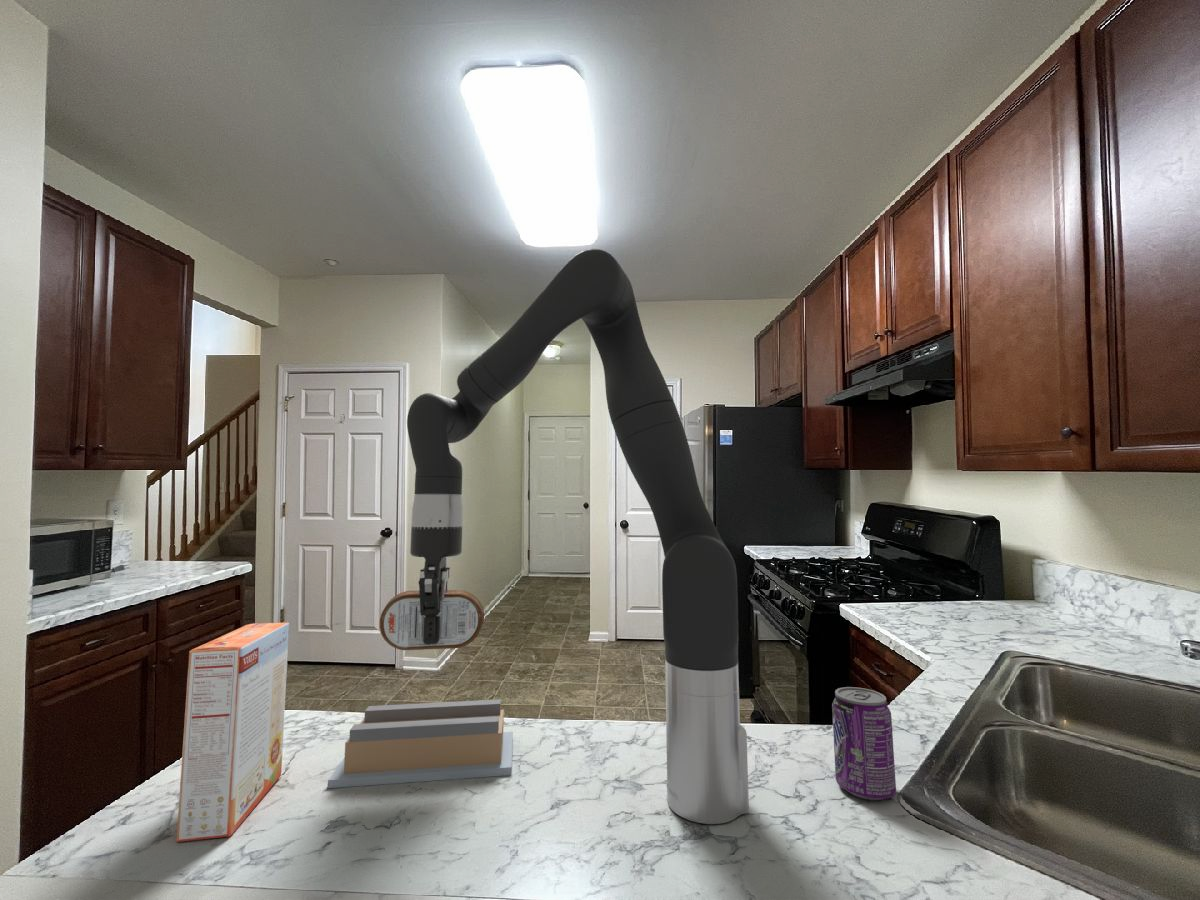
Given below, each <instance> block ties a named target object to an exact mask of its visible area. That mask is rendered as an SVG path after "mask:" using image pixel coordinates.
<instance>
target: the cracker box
mask: <svg viewBox="0 0 1200 900" xmlns="http://www.w3.org/2000/svg"><path fill="white" fill-rule="evenodd" d="M289 623H290V622H260V623H259V622H258V623H249V624H245V625H243V626H241V627H239V628H237V629H235V630H231V631H230V632H227V633H225V634H223V635H221V636H220V637H218V638H215V639H212V640H210V641H208V642H206V643H204V644H202V645H199V646H197V647H195V648H192V649H191V650H189V652H188V665H187V668H188V669H187V678H186V679H187V681H186V696H185V697H186V699H185V711H184V724H183V725H184V727H183V739H182V740H183V741H182V754H181V755H182V756H181V765H180V766H181V769H180V783H179V799H178V811H177V812H178V813H177V814H178V815H177V825H176V826H177V827H176V842H177V843H181V842H191V841H200V840H209V839H218V838H227V837H231V836H232V835H234V832H236V830H237V829H238V828H239V827H240V826H241V824H242V823H243V822H244V821H245V820H246V819H247V817H248V816H249V815H250V813H251V812H252V811H253V809H255V808H256V806H257V805H258V804H259V803H260V801H261V800H262V799H263V798H264V797H265V795H267V794H268V792H269V791H270V789H271V788H272V787H273V786H274V785H275V783H277V781H278V780H279V779H280V778H281V777H282V766H283V748H284V729H285V728H284V727H285V726H284V725H285V708H286V688H287V687H286V686H287V674H288V673H287V671H288V670H287V669H288V654H289V652H288V650H289V648H288V647H289V631H290V624H289Z"/></svg>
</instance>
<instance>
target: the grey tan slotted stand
mask: <svg viewBox="0 0 1200 900" xmlns="http://www.w3.org/2000/svg"><path fill="white" fill-rule="evenodd" d="M501 707H502V699H481V700H461V701H445V702H444V701H442V702H439V701H438V702H422V703H405V704H385V705H381V704H380V705H369V706H367V708H366V709H365V710H364V718H363V719H362V720H361V721H360V723H355V724H353V725H352V726H351V728H350V729H349V737H348V739H346V741H345V744H344V758H343V759H342V760H341V762H340V763H339V764H338V766H336V768H335V770H334V771H333V773H332V774H331V775H330V776H329V778H328V779H327V789H336V788H350V787H351V788H352V787H365V786H366V787H367V786H379V785H393V784H405V783H417V782H421V783H422V782H433V781H445V780H446V781H447V780H457V779H459V780H460V779H473V778H485V777H487V778H488V777H499V776H501V777H502V776H503V777H504V776H512V769H513V768H512V767H513V747H514V746H513V745H514V732H513V731H504V723H505V721H504V719H505V718H504V717H505V716H504V715H505V710H504V709H501Z"/></svg>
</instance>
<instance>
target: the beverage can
mask: <svg viewBox="0 0 1200 900" xmlns="http://www.w3.org/2000/svg"><path fill="white" fill-rule="evenodd" d="M834 695H835V697H834V699H833V701H832V703H831V709H832V710H831V712H832V728H833V729H832V730H833V751H834V753H833V754H834V769H835V770H834V773H835V775H834V776H835V781H836V783H837V785H838V786H839V787H840V788H842V789H843V790H845V791H847V792H848V793H849V794H851V795H853V796H855V797H857V798H859V799H863V800H868V801H881V800H885V799H889V798H892V797H894V796H895V795H896V793H897V784H896V783H897V781H896V768H895V767H896V766H895V752H894V751H895V750H894V738H893V736H894V734H893V721H892V720H893V719H892V712H891V710H890V708H889V706H888V704H887V697H886V696H885V695H884V694H883V693H880V692H878V691H876V690H872V689H868V688H864V687H863V688H862V687H854V686H853V687H852V686H845V687H838V688H837V689H835V691H834Z"/></svg>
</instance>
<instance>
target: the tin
mask: <svg viewBox="0 0 1200 900" xmlns="http://www.w3.org/2000/svg"><path fill="white" fill-rule="evenodd" d="M439 594H440V593H439ZM431 606H434V602H428V607H431ZM441 611H442V614H441V616H440V636H439V641H438V643H436V644H424V642H423V631H424V618H423V615H421V613H420V591H419V590H405V591H402V592H400V593H398V594H396V595H395V596H393V597H392V598H390V600H389V601H388V602H387V603H386V605H385V606H384V609H383V610H382V612H381V613H380V616H379V617H380V619H379V629H380V634H381V636H382V637H383V640H384V641H385V642H386V644H388V645H390V646H391V647H392V648H393V649H396V650H400V651H417V650H419V651H423V650H447V649H451V650H452V649H460V648H464V647H466V646H468V645H469V644H471V643H473V641H474V640H475V639H476V638H477V637H478V636H479V634H480V632H481V631H482V628H483V625H484V621H485V610H484V607H483V605H482V603H481V600H480V599H479V598H478V597H477V596H476V595H474V594H473V593H471V592H470V591H466V590H462V589H448V590H445V599H444V600H443V601H442V602H441Z"/></svg>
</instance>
